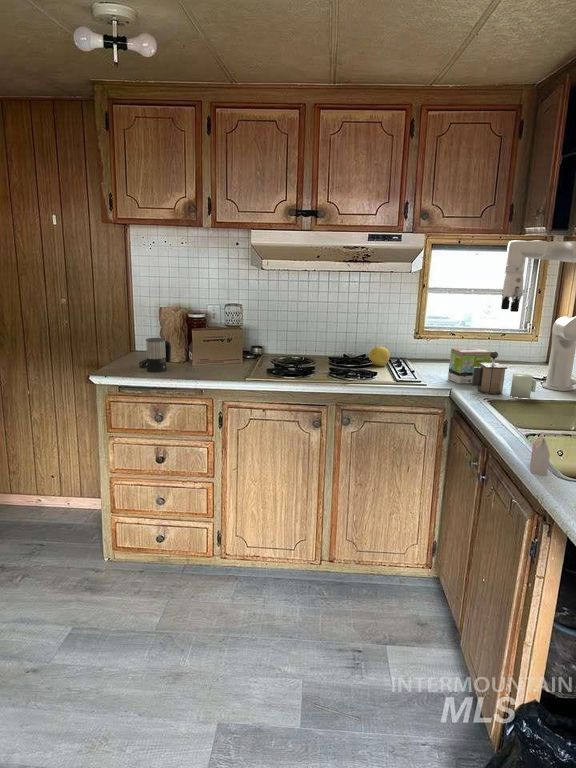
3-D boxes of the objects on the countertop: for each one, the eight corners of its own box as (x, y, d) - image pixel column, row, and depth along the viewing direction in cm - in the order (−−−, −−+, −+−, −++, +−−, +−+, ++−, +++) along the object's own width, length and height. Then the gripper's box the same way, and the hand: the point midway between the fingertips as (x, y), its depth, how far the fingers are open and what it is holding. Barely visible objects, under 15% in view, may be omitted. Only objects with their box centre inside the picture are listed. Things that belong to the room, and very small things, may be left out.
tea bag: (544, 466, 145) (550, 432, 142) (546, 476, 139) (552, 440, 136) (530, 464, 146) (535, 430, 144) (531, 473, 140) (536, 438, 138)
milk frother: (162, 373, 242) (161, 341, 238) (129, 371, 244) (128, 339, 241) (173, 366, 256) (172, 336, 252) (142, 364, 258) (141, 334, 254)
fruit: (392, 365, 272) (393, 346, 270) (382, 368, 264) (383, 349, 262) (374, 362, 279) (376, 343, 276) (364, 365, 270) (365, 346, 268)
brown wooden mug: (496, 389, 229) (500, 362, 226) (506, 395, 219) (509, 367, 217) (467, 388, 229) (470, 362, 226) (475, 394, 219) (478, 367, 216)
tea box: (459, 384, 236) (463, 352, 232) (447, 379, 245) (450, 348, 242) (488, 383, 240) (492, 351, 236) (474, 378, 249) (478, 347, 246)
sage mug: (528, 394, 221) (531, 373, 219) (537, 399, 214) (540, 378, 212) (507, 394, 221) (509, 373, 219) (514, 399, 214) (517, 377, 212)
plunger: (494, 386, 227) (499, 349, 223) (500, 390, 221) (505, 352, 217) (479, 386, 227) (484, 349, 223) (485, 390, 221) (489, 352, 217)
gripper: (532, 271, 217) (526, 312, 221) (514, 269, 234) (509, 308, 238) (514, 270, 217) (509, 312, 221) (497, 269, 234) (493, 308, 238)
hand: (509, 310), depth 230 cm, fingers open, 9 cm apart
